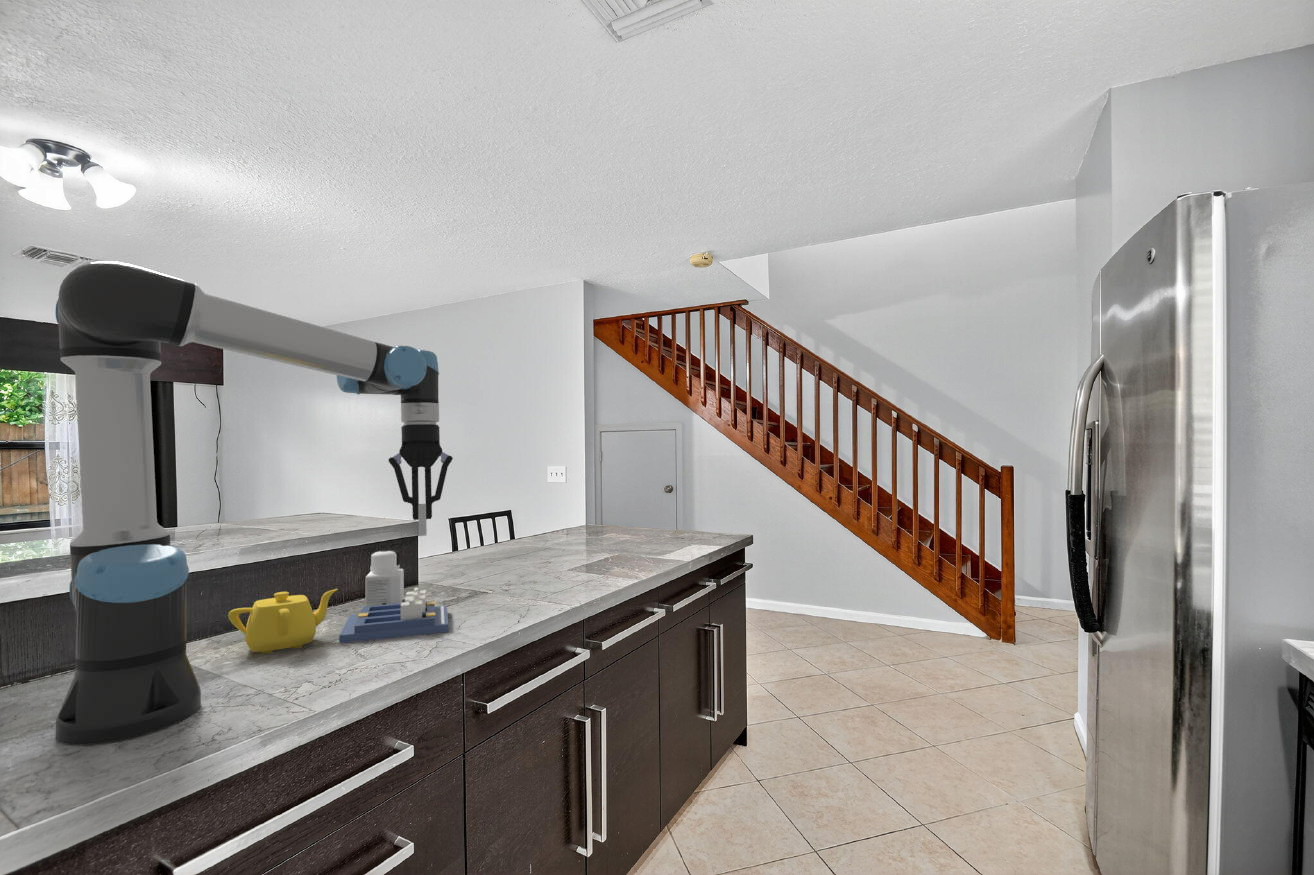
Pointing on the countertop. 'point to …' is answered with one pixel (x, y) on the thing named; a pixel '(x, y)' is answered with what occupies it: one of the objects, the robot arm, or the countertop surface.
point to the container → (384, 579)
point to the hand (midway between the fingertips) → (422, 534)
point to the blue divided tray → (392, 623)
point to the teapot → (280, 622)
